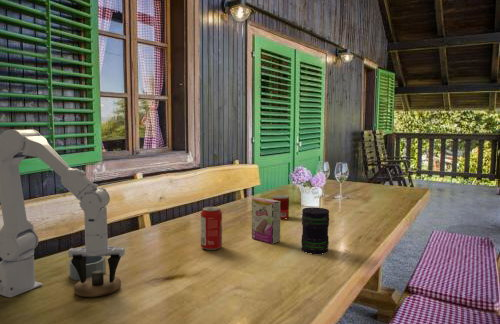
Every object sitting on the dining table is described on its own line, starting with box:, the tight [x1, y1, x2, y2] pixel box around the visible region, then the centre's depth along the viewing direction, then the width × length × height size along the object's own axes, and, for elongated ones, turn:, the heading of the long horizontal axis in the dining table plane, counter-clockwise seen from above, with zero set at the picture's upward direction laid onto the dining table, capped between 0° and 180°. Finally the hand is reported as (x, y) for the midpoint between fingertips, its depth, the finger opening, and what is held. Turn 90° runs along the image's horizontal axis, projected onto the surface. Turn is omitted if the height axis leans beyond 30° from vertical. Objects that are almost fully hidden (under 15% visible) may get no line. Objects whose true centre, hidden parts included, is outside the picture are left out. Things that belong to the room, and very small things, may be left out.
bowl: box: [68, 256, 107, 281], centre depth 120 cm, size 10×10×4 cm
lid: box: [73, 271, 122, 298], centre depth 109 cm, size 12×12×5 cm
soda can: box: [200, 206, 223, 251], centre depth 146 cm, size 8×8×15 cm
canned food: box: [272, 194, 290, 220], centre depth 193 cm, size 8×8×11 cm
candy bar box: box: [251, 197, 281, 245], centre depth 155 cm, size 11×5×16 cm, turn 47°
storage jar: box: [300, 206, 330, 255], centre depth 143 cm, size 10×10×15 cm
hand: (97, 281), depth 109 cm, fingers open, 7 cm apart
